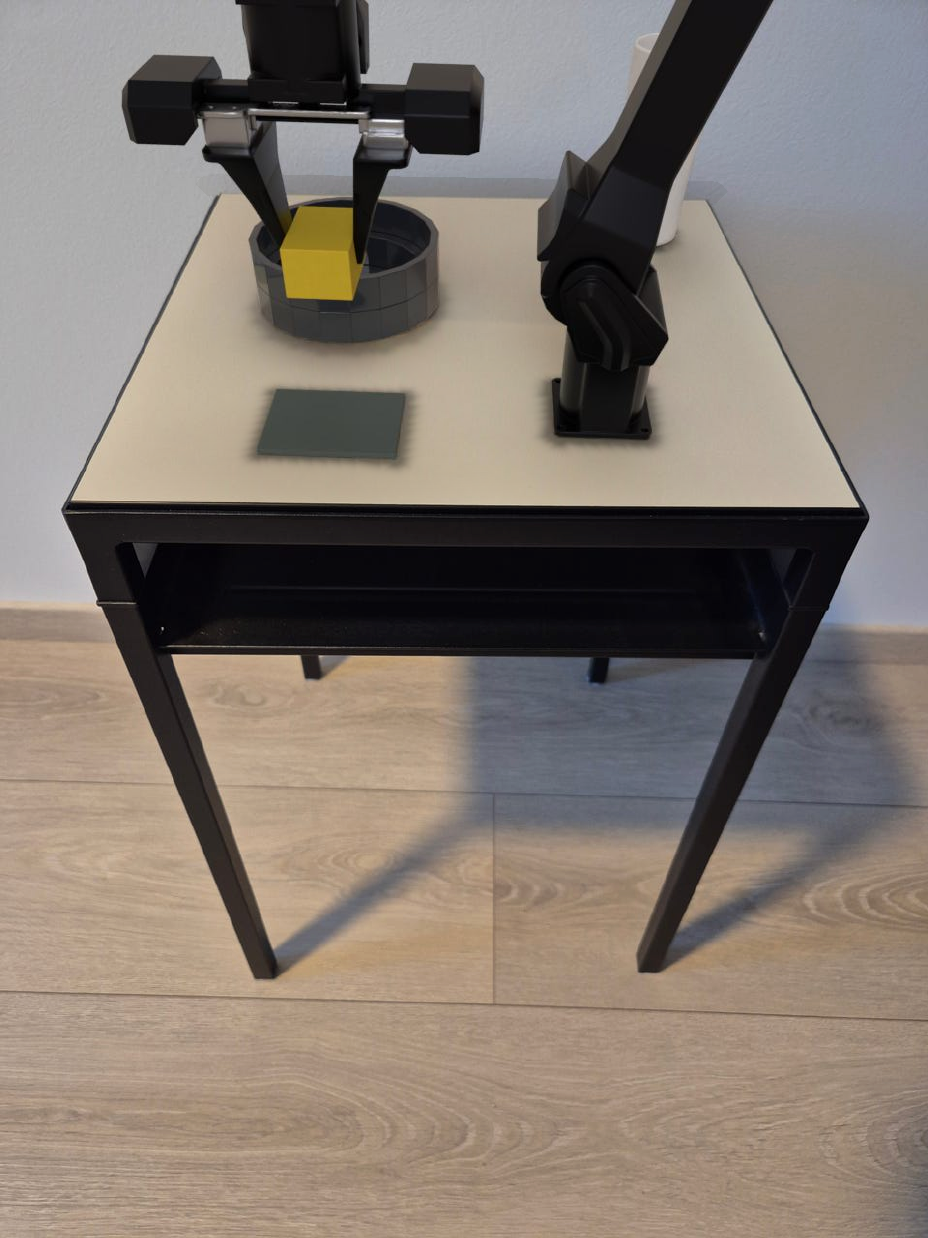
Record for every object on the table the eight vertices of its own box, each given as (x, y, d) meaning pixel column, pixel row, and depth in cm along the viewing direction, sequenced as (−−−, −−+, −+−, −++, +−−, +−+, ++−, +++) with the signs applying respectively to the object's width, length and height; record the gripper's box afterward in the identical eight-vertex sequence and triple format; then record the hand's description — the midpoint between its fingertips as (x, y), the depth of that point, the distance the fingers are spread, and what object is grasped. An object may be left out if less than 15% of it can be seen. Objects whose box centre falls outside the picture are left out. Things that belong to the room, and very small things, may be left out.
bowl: (433, 353, 64) (432, 282, 60) (244, 347, 65) (230, 276, 61) (443, 265, 74) (443, 199, 70) (278, 260, 74) (269, 193, 70)
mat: (395, 459, 56) (395, 454, 55) (257, 454, 56) (256, 449, 56) (405, 397, 60) (404, 392, 60) (277, 393, 61) (276, 388, 60)
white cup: (681, 256, 76) (721, 59, 64) (604, 248, 76) (630, 52, 65) (683, 223, 80) (721, 34, 69) (610, 216, 81) (636, 28, 70)
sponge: (353, 300, 52) (348, 251, 49) (286, 298, 52) (279, 248, 50) (366, 255, 56) (362, 207, 53) (304, 253, 56) (298, 205, 54)
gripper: (492, -87, 46) (484, 210, 58) (150, -96, 47) (209, 200, 59) (483, -40, 39) (475, 290, 51) (76, -52, 40) (161, 277, 51)
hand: (326, 259), depth 53 cm, fingers closed on sponge, 4 cm apart
